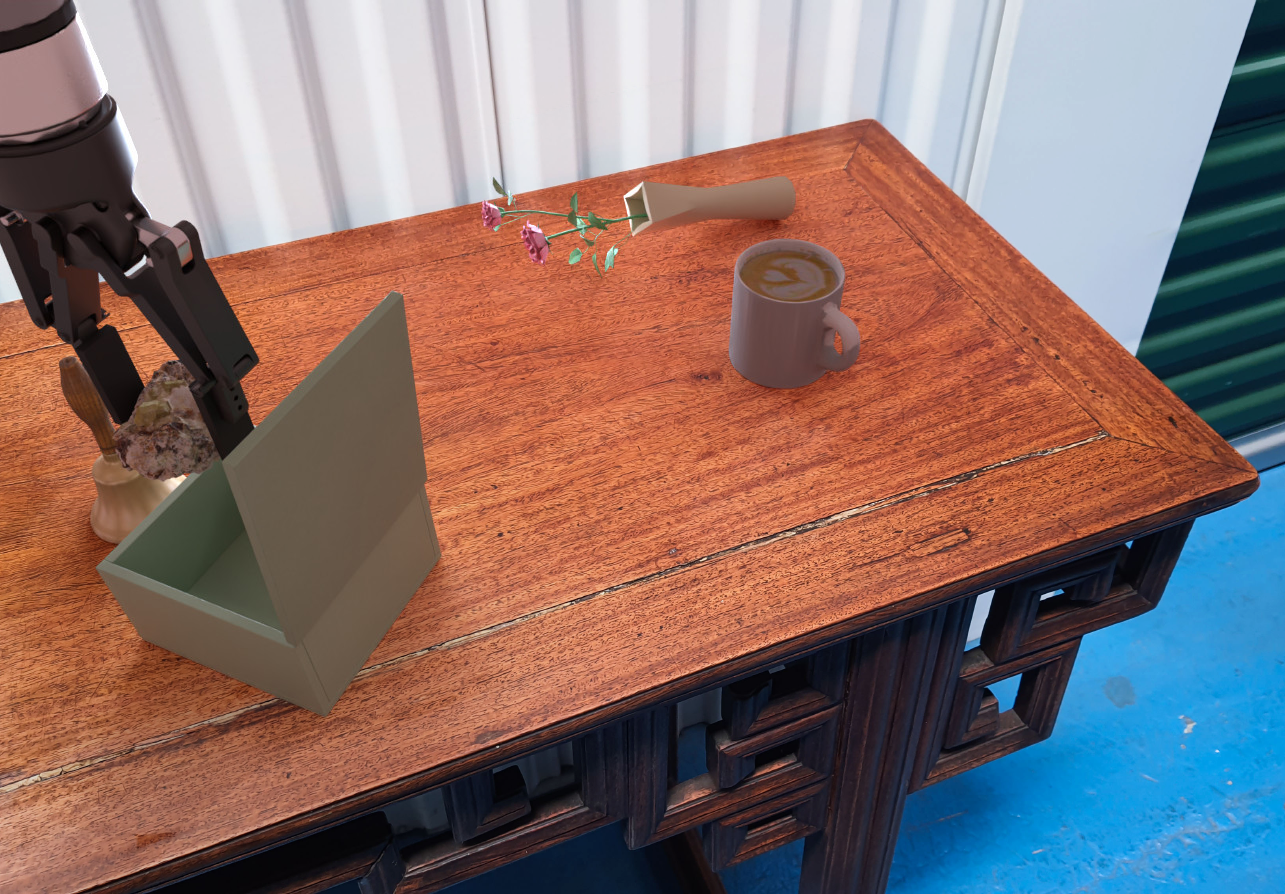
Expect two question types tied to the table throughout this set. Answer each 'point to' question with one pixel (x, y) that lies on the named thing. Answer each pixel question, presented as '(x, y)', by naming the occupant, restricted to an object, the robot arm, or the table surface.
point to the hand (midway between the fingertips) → (185, 429)
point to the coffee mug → (789, 314)
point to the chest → (258, 594)
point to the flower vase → (659, 211)
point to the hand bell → (110, 463)
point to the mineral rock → (166, 429)
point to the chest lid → (332, 468)
